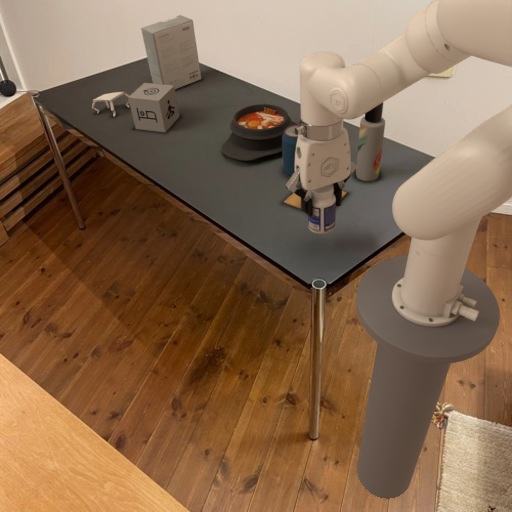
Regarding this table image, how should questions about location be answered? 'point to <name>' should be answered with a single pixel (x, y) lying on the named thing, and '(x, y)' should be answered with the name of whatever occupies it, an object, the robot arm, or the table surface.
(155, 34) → the hard drive box
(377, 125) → the lotion bottle
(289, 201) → the cork mat
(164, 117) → the icon cube
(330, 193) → the pill bottle
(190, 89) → the table surface
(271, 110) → the casserole
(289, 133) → the soda can
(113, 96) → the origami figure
